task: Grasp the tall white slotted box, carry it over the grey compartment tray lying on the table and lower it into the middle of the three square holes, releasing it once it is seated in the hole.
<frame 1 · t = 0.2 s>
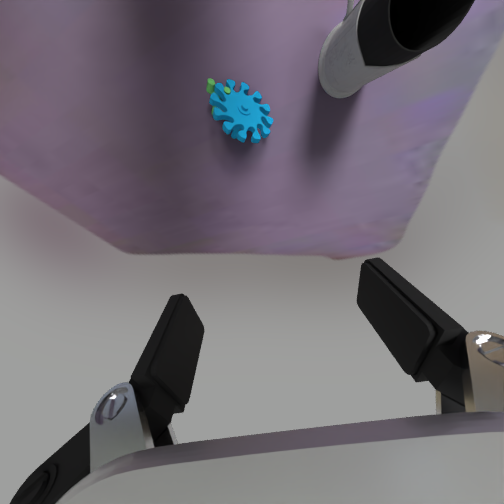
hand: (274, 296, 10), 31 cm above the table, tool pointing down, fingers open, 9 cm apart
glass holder: (341, 39, 26), on the table
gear: (240, 113, 31), on the table
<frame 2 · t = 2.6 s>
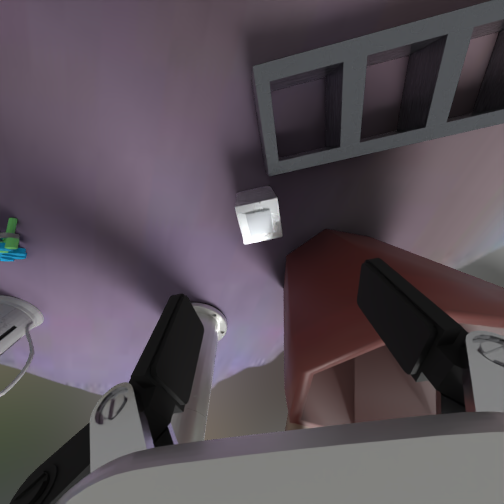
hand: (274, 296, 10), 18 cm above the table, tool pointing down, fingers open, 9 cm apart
grey compartment tray: (372, 103, 20), on the table
bucket: (325, 268, 32), on the table
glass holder: (34, 314, 35), on the table
white slotted box: (256, 204, 26), on the table
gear: (5, 236, 27), on the table
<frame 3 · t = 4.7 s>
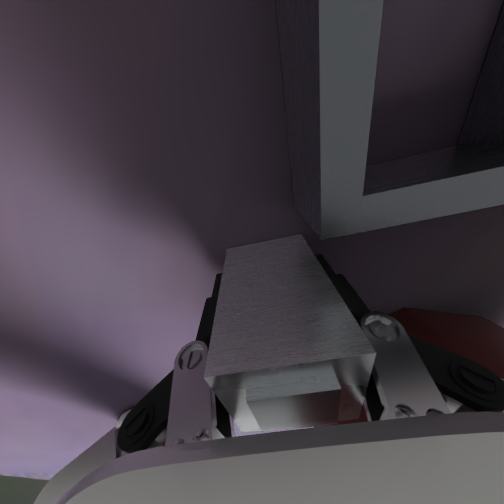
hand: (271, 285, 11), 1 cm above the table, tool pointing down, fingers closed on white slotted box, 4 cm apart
bucket: (386, 359, 18), on the table
white slotted box: (269, 270, 12), on the table, touching gripper
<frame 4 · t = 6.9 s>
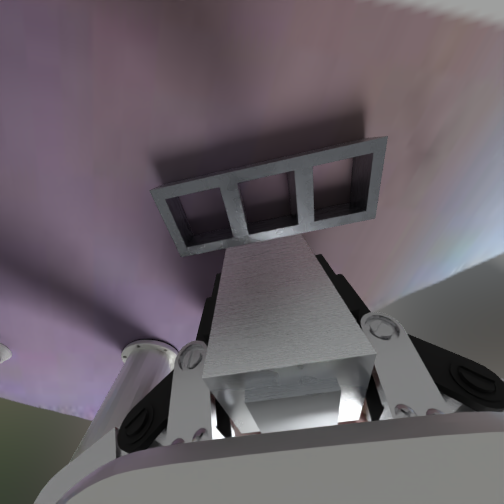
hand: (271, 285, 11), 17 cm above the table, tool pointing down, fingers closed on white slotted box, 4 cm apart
grey compartment tray: (266, 197, 25), on the table
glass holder: (3, 350, 39), on the table
white slotted box: (268, 270, 12), point 16 cm above the table, touching gripper
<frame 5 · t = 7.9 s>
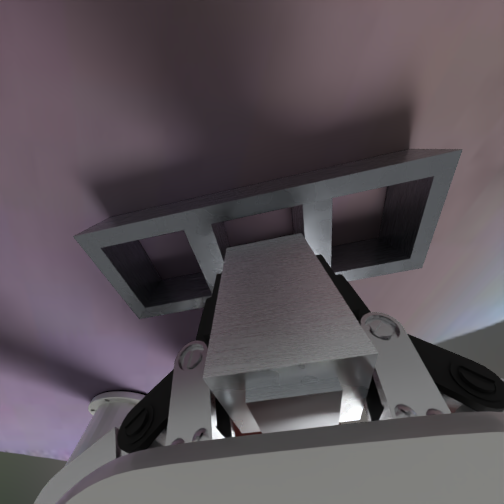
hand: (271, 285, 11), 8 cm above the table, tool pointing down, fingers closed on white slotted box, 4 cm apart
grey compartment tray: (260, 232, 17), on the table
white slotted box: (269, 270, 12), point 7 cm above the table, touching gripper
when the fingers open (4 cm above the table, at t = 8.9 s): white slotted box drops 3 cm, resting in grey compartment tray.
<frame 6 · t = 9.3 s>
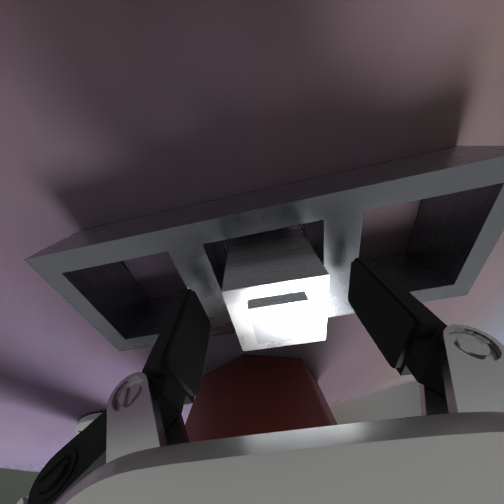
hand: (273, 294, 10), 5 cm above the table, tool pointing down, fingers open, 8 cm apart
grey compartment tray: (264, 247, 14), on the table
bucket: (257, 382, 26), on the table
white slotted box: (265, 247, 15), resting in grey compartment tray
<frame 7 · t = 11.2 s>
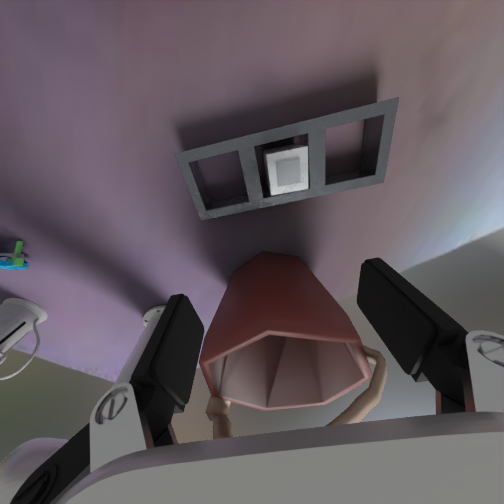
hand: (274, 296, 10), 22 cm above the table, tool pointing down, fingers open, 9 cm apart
grey compartment tray: (279, 164, 26), on the table
bucket: (269, 280, 39), on the table
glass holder: (39, 312, 44), on the table
white slotted box: (279, 164, 26), resting in grey compartment tray
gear: (12, 251, 35), on the table
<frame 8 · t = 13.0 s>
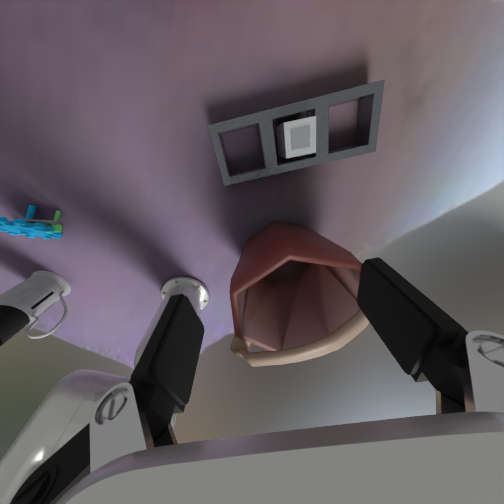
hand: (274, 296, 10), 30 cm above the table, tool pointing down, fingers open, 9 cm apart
grey compartment tray: (289, 139, 32), on the table
bucket: (278, 250, 44), on the table
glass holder: (64, 285, 47), on the table
white slotted box: (290, 139, 32), resting in grey compartment tray
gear: (48, 221, 38), on the table
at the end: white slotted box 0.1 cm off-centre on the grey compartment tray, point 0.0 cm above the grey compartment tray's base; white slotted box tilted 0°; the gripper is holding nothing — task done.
